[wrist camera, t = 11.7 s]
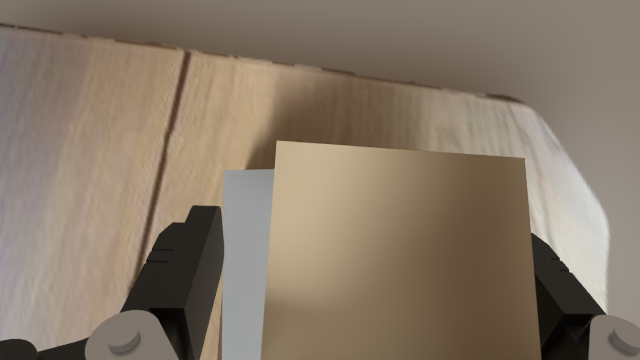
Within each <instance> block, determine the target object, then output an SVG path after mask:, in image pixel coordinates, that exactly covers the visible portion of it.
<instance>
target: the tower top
mask: <svg viewBox="0 0 640 360" xmlns="http://www.w3.org/2000/svg"><path fill="white" fill-rule="evenodd" d="M274 171H275V169H257V170H224V172H223V236H224V262H223V291H222V360H260V359H261V346H262V332H263V319H264V305H265V292H266V278H267V265H268V252H269V238H270V225H271V211H272V198H273V184H274Z"/></svg>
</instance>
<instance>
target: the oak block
mask: <svg viewBox="0 0 640 360" xmlns="http://www.w3.org/2000/svg"><path fill="white" fill-rule="evenodd" d="M260 360H541V349H540V337H539V325H538V313H537V301H536V289H535V277H534V265H533V253H532V241H531V229H530V217H529V205H528V193H527V181H526V169H525V158H515V157H501V156H487V155H472V154H458V153H444V152H430V151H416V150H402V149H388V148H374V147H360V146H345V145H331V144H317V143H303V142H289V141H277V144H276V157H275V171H274V184H273V198H272V211H271V225H270V238H269V252H268V265H267V278H266V292H265V305H264V319H263V332H262V346H261V359H260Z"/></svg>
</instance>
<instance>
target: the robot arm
mask: <svg viewBox="0 0 640 360" xmlns="http://www.w3.org/2000/svg"><path fill="white" fill-rule="evenodd" d="M531 241H532V253H533V265H534V277H535V289H536V301H537V313H538V325H539V337H540V349H541V360H640V328H639V327H637V326H636V325H634V324H632V323H630V322H628V321H626V320H624V319H621V318H619V317H615V316H611V315H607V314H606V313H605V312H604V311H603V310H602V308H601V307H600V306H599V305H598V304H597V302H596V301H595V300H594V299H593V298H592V296H591V295H590V294H589V293H588V292H587V290H586V289H585V288H584V287H583V286H582V284H581V283H580V282H579V281H578V280H577V278H576V277H575V276H574V275H573V274H572V273H570V272H569V269H568V268H567V266H566V265H565V264H564V263H563V262H562V261H560V258H559V257H558V256H557V254H556V253H555V252H554V251H553V250H552V248H551V247H550V246H549V245H548V244H547V243H545V242H544V241H543V240H541V239H540V238H538V237H537V236H536V235H534V234H533V233H531ZM223 262H224V236H223V226H222V215H221V208H220V206H199V205H193V206H192V208H191V210H190V212H189V214H188V217H187V219H186V221H185V223H176V222H173V223H172V224H170V225H169V226H168V227H167V228H166V229H165V230H164V231H162V232H161V233H160V234H159V236H158V238H157V240H156V242H155V244H154V246H153V248H152V251H151V252H150V254H149V256H148V258H147V260H146V264H144V266H143V268H142V270H141V272H140V274H139V276H138V278H137V280H136V282H135V284H134V286H133V288H132V290H131V292H130V294H129V296H128V298H127V300H126V302H125V304H124V306H123V308H122V309H121V311H120V313H119V314H116V315H114V316H112V317H110V318H108V319H107V320H106V321H104V322H103V323H101V324H100V325H99V326H98V327H97V328H96V329H95V330H94V331H93V333H92V334H91V335H90V337H88V338H86V339H83V340H80V341H77V342H73V343H70V344H66V345H62V346H58V347H55V348H51V349H47V350H43V351H39V352H37V350H36V348H35V347H34V345H33V344H32V343H30V342H28V341H26V340H22V339H9V340H3V341H0V360H200V356H201V352H202V348H203V344H204V340H205V336H206V332H207V328H208V324H209V320H210V316H211V312H212V308H213V304H214V300H215V296H216V292H217V288H218V284H219V280H220V276H221V272H222V268H223Z"/></svg>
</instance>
